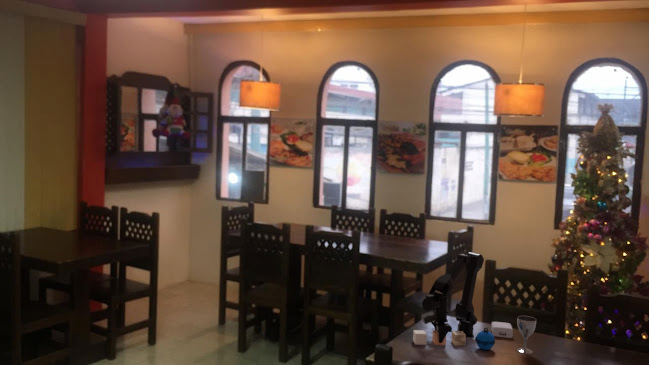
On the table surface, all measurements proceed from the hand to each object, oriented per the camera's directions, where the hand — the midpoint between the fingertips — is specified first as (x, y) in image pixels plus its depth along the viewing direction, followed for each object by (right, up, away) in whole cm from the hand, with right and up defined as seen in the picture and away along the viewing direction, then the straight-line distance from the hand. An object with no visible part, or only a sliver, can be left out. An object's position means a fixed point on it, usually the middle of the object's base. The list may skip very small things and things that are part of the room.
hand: (438, 340), depth 278 cm
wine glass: (+37, -3, -5) cm, 38 cm away
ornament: (+19, -3, -6) cm, 20 cm away
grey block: (-9, -1, 0) cm, 9 cm away
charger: (+34, -1, +19) cm, 39 cm away
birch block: (+9, -2, +1) cm, 9 cm away
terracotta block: (0, -1, 0) cm, 1 cm away
